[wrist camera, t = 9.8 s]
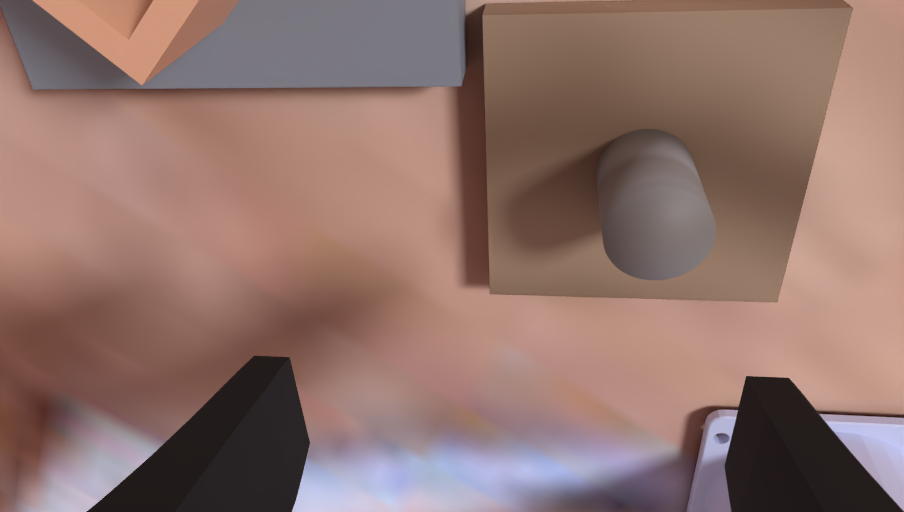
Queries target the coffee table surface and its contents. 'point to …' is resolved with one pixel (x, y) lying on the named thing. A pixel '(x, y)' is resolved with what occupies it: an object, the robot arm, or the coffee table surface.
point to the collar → (140, 28)
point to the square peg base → (269, 47)
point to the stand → (652, 143)
